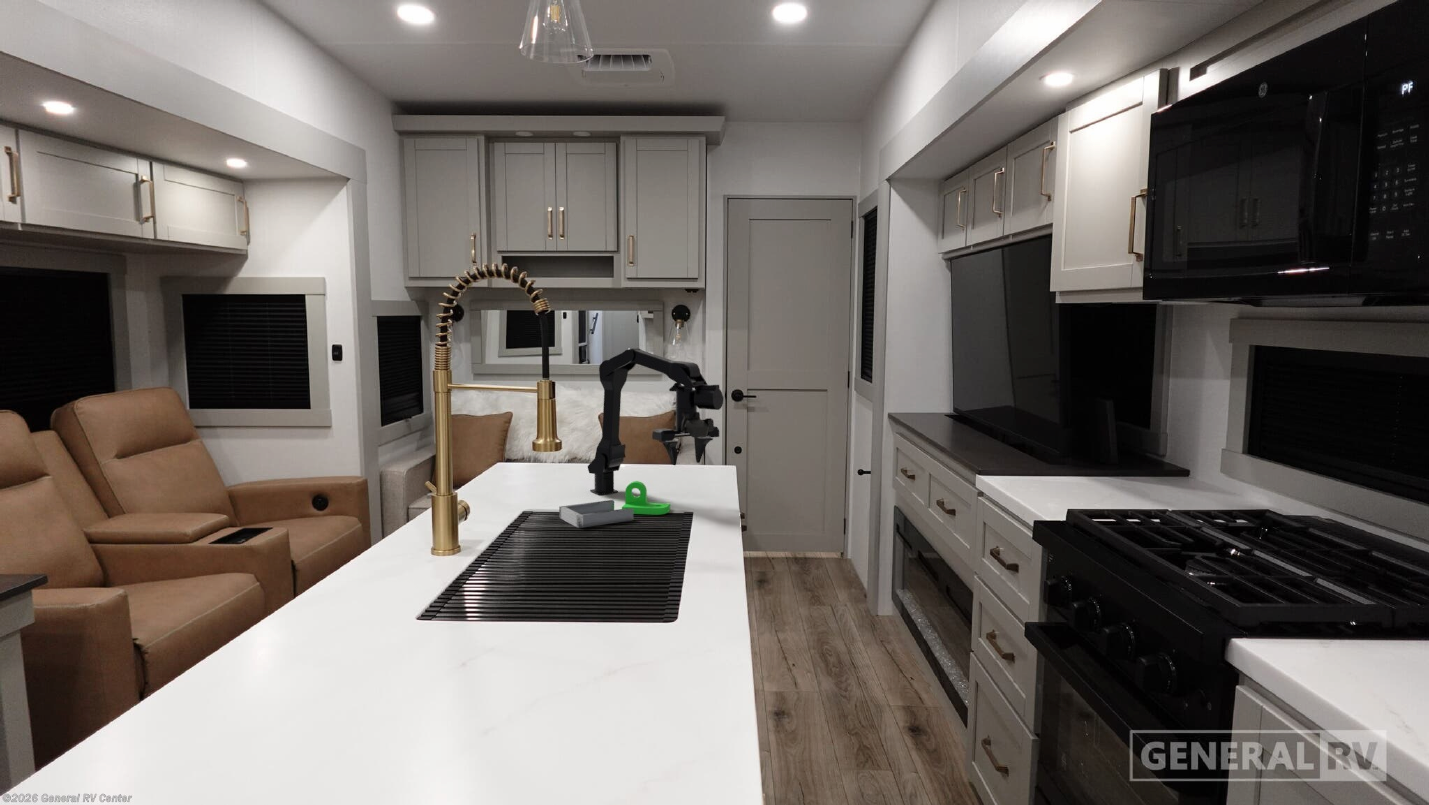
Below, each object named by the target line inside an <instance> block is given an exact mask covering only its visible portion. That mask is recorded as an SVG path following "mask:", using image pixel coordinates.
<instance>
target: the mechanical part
mask: <svg viewBox="0 0 1429 805" xmlns="http://www.w3.org/2000/svg"><path fill="white" fill-rule="evenodd" d="M633 489H637V490H639V491H638V492H640V494H639V496H635V495H634V494H633ZM624 498H625V499H624V500H625V501H624V502H625V503H624V504H623V505H622V506H621V509H626V508H633V515H649V516H650V515H653V516H654V515H656V516H658V515H665V514H668V513H669V511H670V510H671V503H663V502H662V503H658V502H649V501H648V493H647V487H646V485H645V484H644V483H643V482H642V481H639V480H635V481H632V482H630V483H629V484H628V485H627V486H626V488H625V497H624Z"/></svg>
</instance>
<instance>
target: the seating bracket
mask: <svg viewBox="0 0 1429 805" xmlns="http://www.w3.org/2000/svg"><path fill="white" fill-rule="evenodd" d="M558 508H559V510H558V511H559V512H558V516H559V517H558V518H559V519H560V520H563V521H565V522H566V523H568V524H570V525H572V526H574V527H576V528H578V529H582V528H589V527H594V526H595V527H596V526H601V525H602V526H603V525H609V524H615V523H624V522H629V521H630V522H631V521H634V514H633V508H626V509H622V508H621V509H615V500H613V499H610V500H608V499H607V500H602V501H595V502H585V503H578V504H570V505H561V506H559V507H558Z"/></svg>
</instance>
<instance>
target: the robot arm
mask: <svg viewBox="0 0 1429 805" xmlns="http://www.w3.org/2000/svg"><path fill="white" fill-rule="evenodd" d="M636 365H640V366H642V367H644V368H647V369H650V370H653V371H656V372H659V373H662V374H664V375H666V376H667V377H668V379H670V381H671V380H672V381H673V382H674V384H673V385H671V387H670V388H669V389H668V390H669V392H675V396H676V397H675V401H676V402H675V411H673V415H674V416H675V425H674V426H673V429H669V428H665V427H663V428H654V430H653V431H652V434H651V435H652V438H651V439H652V440H655V441H659V442H660V443H662V445H663V447H664V449H665V450H666V452H667V456H669V459H670V461H671V464H672V466H676V465H677V446H678V443H679V441H677V440H676V438H682V437H683V438H684V437H692V438H693V439H694V440H693V441H694V452H695V462H696V463H697V464H700V463H701V460H702V457H703V454H704V451H705V449H706V447H707V444H709V443H710V442H712V441H713V440H714V438H719V437H720V429H719V428H718V427H717V426H715V425H714V424H715V423H714V420H713V419H712V418H711V417H710V418H704V419H701V415H700V411H698V409H700V410H713V411H718V410H719V411H720V409H722V407H723V404H724V395H723V392H722V390H721V389H720V384H708V383H707V381H706V379H705V378H704V376H703V374H702V373H701V370H700V367H699V364H697V363H695V362H691V361H682V360H681V361H679V360H671V359H669V358H666V357H663V356H661V355H657V354H654V353H651V352H649V351H644V350H642V349H641V348H638V347H632V348H631V347H630V348H627V349H625V350H624V351H622V352H620V353H619V354H617V355H614V356H613V357H610V358H609V359H605V360H602V362H601V363H600V364H599V367H598V368H599V370H598V371H599V372H598V374H599V375H598V376H599V381H600V383H601V386H602V387H603V392H604V393H603V408H602V410H603V411H602V412H603V414H602V430H601V439H600V441H599V442H598V444H597V446H596V449H595V454H594V458H593V459H592V461H591V462H590V463H589V464H588V465H587V469H588V470H587V471H588V473H589V474H593V475H594V488H593V489H592V488H591V489H590V490H589V491H590V493H594V494H596V495H598V496H600V495H608V494H618V493H619V490H617V489H615V486H614V485H615V483H614V482H615V477H614V476H615V474H614V473H615V472H616V471H618V472H619V470H620V467H621V465H622V464H623V463H624V459H625V458H626V449H627V448H626V447H627V446H626V444H624V443H623V444H622V442H621V440H620V422H621V421H620V420H621V403H622V402H621V401H622V399H621V398H622V397H621V396H622V389H624V386H625V384H626V382H627V378H628V373H629V372H630V371H631V370H633V369H634V368H635V367H636Z"/></svg>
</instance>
